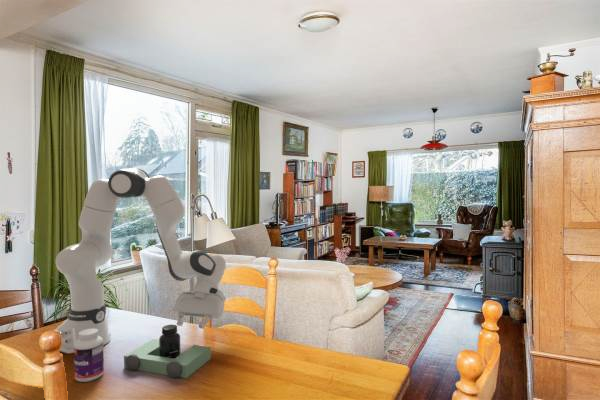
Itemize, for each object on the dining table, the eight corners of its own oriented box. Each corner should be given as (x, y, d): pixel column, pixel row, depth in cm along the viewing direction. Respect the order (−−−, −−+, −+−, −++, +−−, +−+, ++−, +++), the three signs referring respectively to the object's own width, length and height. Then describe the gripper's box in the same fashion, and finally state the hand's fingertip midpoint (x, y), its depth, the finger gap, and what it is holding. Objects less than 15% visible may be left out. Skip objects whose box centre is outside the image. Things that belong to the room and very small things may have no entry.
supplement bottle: (174, 367, 125) (172, 331, 124) (155, 365, 126) (154, 330, 126) (184, 358, 131) (183, 323, 131) (166, 356, 133) (165, 322, 132)
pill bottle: (68, 380, 117) (66, 334, 117) (91, 368, 125) (90, 325, 124) (87, 385, 114) (85, 338, 114) (109, 373, 122) (108, 328, 121)
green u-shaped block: (121, 369, 124) (121, 354, 124) (153, 350, 138) (152, 336, 138) (184, 380, 116) (183, 363, 116) (210, 358, 131) (210, 344, 131)
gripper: (177, 287, 149) (162, 320, 140) (223, 290, 143) (210, 325, 134) (185, 295, 154) (170, 327, 145) (229, 298, 147) (217, 333, 138)
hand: (189, 326), depth 139 cm, fingers open, 8 cm apart
